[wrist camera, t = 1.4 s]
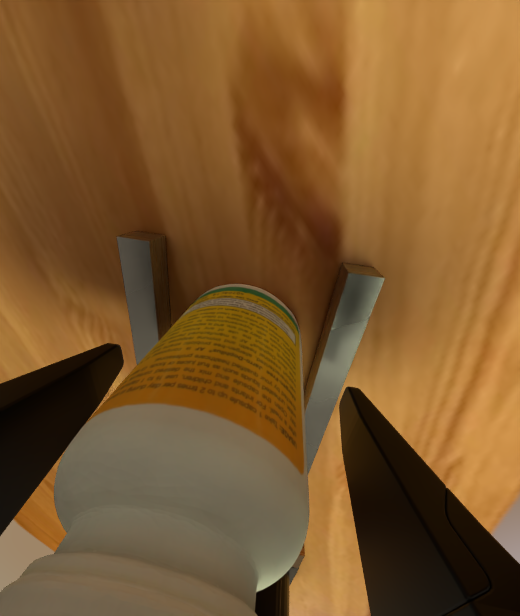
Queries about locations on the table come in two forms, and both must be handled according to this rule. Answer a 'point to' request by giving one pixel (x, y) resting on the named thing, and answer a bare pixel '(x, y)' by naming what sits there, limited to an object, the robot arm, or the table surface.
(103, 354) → the robot arm
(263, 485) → the supplement bottle
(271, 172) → the table surface
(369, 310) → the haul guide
